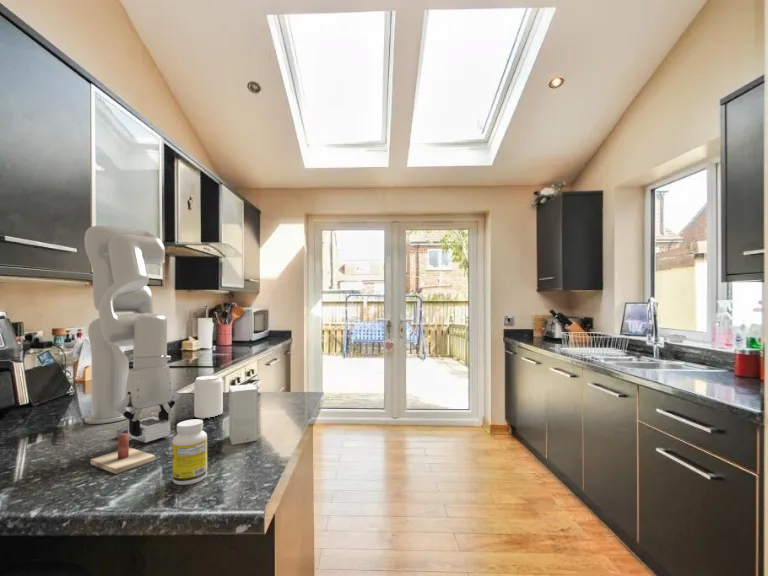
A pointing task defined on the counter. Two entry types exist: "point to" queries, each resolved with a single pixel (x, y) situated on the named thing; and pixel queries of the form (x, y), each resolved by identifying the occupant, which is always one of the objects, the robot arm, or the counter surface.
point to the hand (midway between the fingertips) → (149, 430)
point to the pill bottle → (189, 453)
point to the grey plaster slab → (122, 430)
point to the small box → (243, 414)
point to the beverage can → (208, 396)
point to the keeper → (122, 457)
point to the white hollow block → (152, 429)
